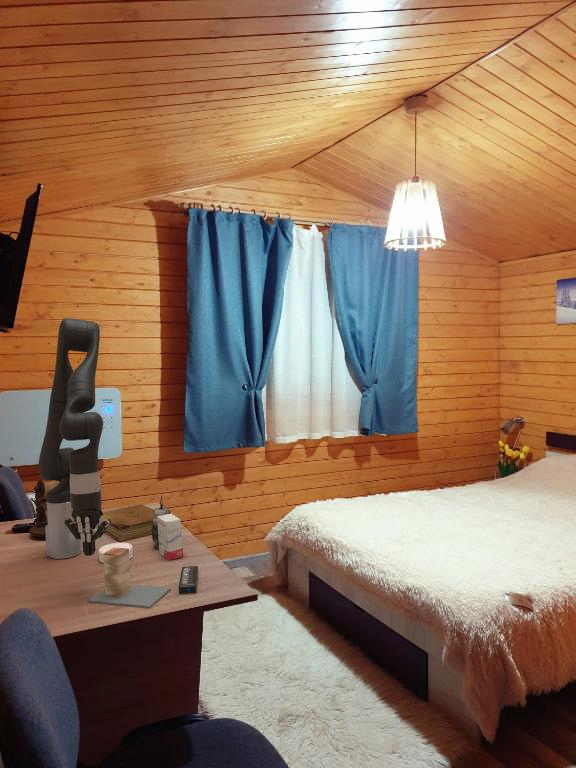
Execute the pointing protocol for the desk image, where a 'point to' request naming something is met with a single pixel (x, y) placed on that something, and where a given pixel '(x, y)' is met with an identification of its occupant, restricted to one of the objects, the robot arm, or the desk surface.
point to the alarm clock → (157, 512)
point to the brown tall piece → (42, 507)
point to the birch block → (117, 572)
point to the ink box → (170, 536)
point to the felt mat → (134, 597)
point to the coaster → (114, 545)
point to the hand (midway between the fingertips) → (89, 554)
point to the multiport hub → (188, 580)
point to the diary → (129, 522)
